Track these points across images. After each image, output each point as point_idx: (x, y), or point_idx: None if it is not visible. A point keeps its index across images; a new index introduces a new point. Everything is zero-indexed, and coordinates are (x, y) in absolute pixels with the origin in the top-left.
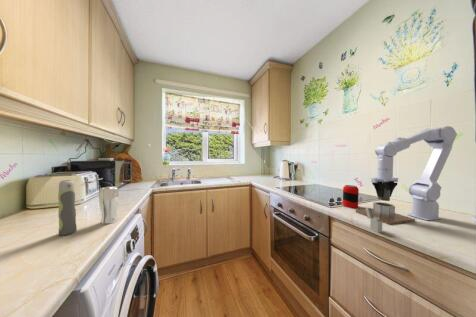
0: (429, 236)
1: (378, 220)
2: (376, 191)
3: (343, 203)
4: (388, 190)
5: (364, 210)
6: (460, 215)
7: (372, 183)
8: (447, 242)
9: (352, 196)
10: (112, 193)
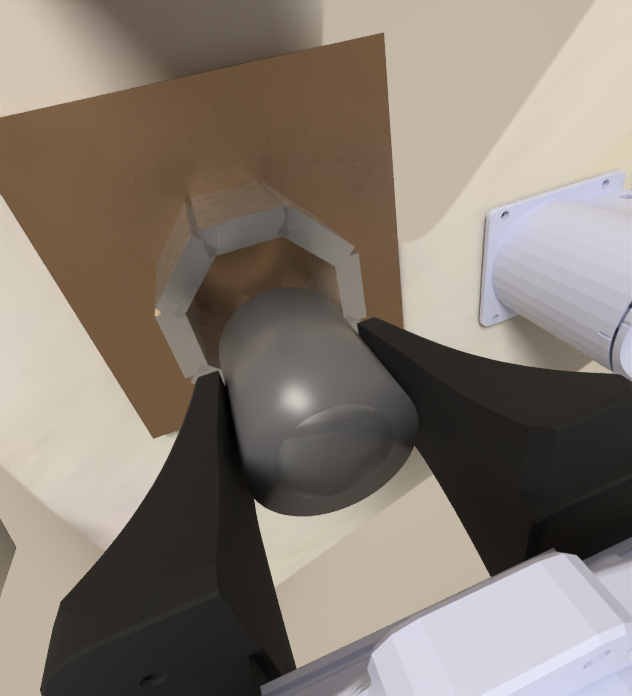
0: (262, 513)
1: None
2: (181, 436)
3: None
4: (341, 505)
5: (105, 134)
6: None
7: (57, 623)
8: (282, 541)
9: None
10: None
